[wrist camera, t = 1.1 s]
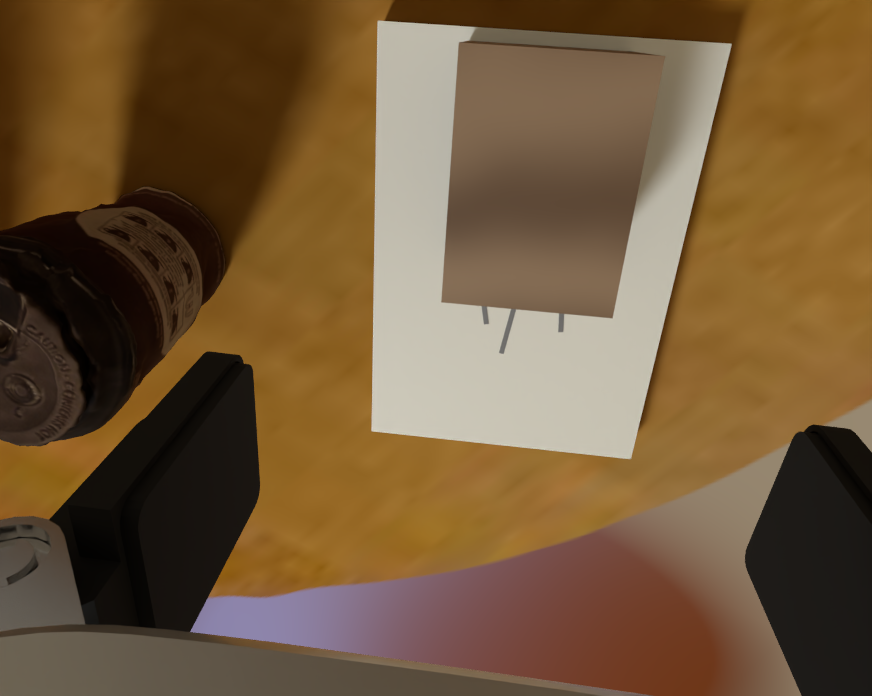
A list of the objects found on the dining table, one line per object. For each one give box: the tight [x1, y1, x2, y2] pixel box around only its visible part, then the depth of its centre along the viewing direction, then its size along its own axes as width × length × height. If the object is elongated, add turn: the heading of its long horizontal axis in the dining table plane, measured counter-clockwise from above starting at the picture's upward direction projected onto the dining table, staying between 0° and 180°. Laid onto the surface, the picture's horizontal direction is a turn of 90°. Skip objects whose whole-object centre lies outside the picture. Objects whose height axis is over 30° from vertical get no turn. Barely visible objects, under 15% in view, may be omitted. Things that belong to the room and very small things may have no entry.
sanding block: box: [441, 41, 665, 318], centre depth 25 cm, size 9×6×6 cm
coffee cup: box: [0, 187, 225, 446], centre depth 27 cm, size 9×8×13 cm
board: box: [372, 21, 732, 459], centre depth 30 cm, size 20×14×2 cm
